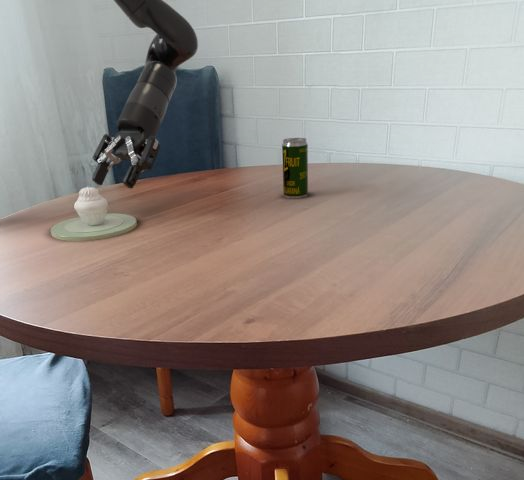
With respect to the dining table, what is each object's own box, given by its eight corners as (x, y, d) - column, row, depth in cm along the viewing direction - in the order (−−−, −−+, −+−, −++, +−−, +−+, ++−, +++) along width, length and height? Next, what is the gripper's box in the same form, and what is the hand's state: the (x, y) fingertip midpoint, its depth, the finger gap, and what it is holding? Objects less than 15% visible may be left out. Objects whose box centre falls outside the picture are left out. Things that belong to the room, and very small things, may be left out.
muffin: (112, 218, 107) (105, 181, 103) (109, 226, 101) (102, 188, 98) (80, 220, 106) (72, 184, 102) (75, 229, 101) (67, 191, 97)
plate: (35, 242, 98) (33, 236, 98) (76, 218, 112) (74, 213, 112) (117, 242, 96) (116, 236, 95) (148, 218, 109) (148, 212, 109)
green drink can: (288, 193, 122) (287, 137, 117) (311, 194, 120) (311, 137, 115) (279, 199, 118) (278, 141, 112) (303, 200, 116) (302, 141, 110)
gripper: (106, 100, 108) (73, 170, 105) (159, 100, 101) (125, 175, 98) (129, 125, 114) (99, 192, 111) (181, 126, 107) (150, 198, 104)
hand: (111, 184), depth 105 cm, fingers open, 8 cm apart
